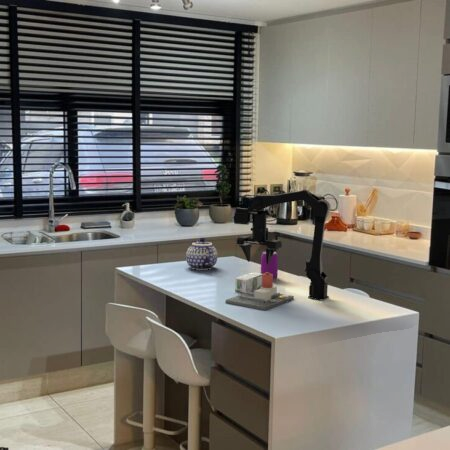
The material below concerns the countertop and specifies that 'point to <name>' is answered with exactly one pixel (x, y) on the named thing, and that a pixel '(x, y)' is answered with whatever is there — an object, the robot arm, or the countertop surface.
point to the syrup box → (248, 282)
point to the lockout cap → (267, 280)
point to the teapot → (201, 255)
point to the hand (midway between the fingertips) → (258, 262)
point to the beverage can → (270, 265)
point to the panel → (259, 300)
